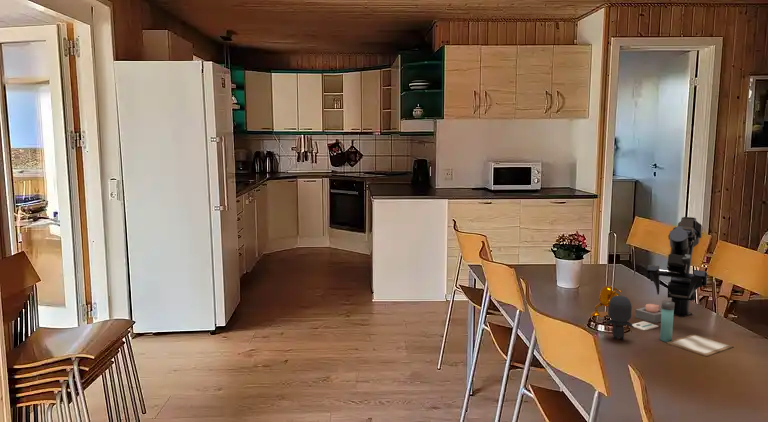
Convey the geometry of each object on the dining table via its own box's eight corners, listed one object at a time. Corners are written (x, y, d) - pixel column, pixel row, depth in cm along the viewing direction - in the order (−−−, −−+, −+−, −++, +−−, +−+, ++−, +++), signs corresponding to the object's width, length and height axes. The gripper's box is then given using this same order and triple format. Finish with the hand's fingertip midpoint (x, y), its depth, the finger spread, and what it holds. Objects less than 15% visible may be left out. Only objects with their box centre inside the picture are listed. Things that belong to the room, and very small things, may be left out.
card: (643, 321, 207) (643, 320, 207) (658, 326, 202) (658, 325, 202) (629, 325, 203) (629, 324, 203) (644, 330, 198) (644, 329, 198)
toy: (632, 337, 192) (634, 293, 190) (634, 345, 185) (636, 300, 183) (603, 334, 195) (605, 291, 193) (604, 342, 188) (606, 297, 186)
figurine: (622, 321, 208) (623, 289, 206) (590, 319, 211) (592, 287, 209) (619, 314, 216) (621, 283, 214) (589, 312, 219) (590, 281, 217)
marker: (664, 337, 192) (666, 299, 190) (674, 340, 188) (677, 302, 186) (657, 339, 190) (659, 301, 188) (667, 343, 186) (670, 304, 185)
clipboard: (694, 335, 193) (694, 333, 193) (733, 347, 182) (733, 345, 182) (666, 343, 186) (666, 342, 186) (706, 356, 175) (706, 355, 175)
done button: (650, 311, 214) (650, 302, 213) (660, 315, 210) (661, 305, 210) (642, 313, 212) (643, 304, 211) (653, 317, 208) (653, 307, 207)
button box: (648, 313, 216) (649, 306, 216) (668, 319, 210) (668, 311, 209) (635, 317, 212) (635, 309, 212) (654, 323, 206) (654, 315, 205)
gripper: (648, 242, 200) (641, 279, 193) (709, 247, 190) (704, 287, 183) (650, 260, 208) (643, 296, 200) (708, 266, 198) (704, 305, 190)
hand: (672, 296), depth 193 cm, fingers open, 9 cm apart
